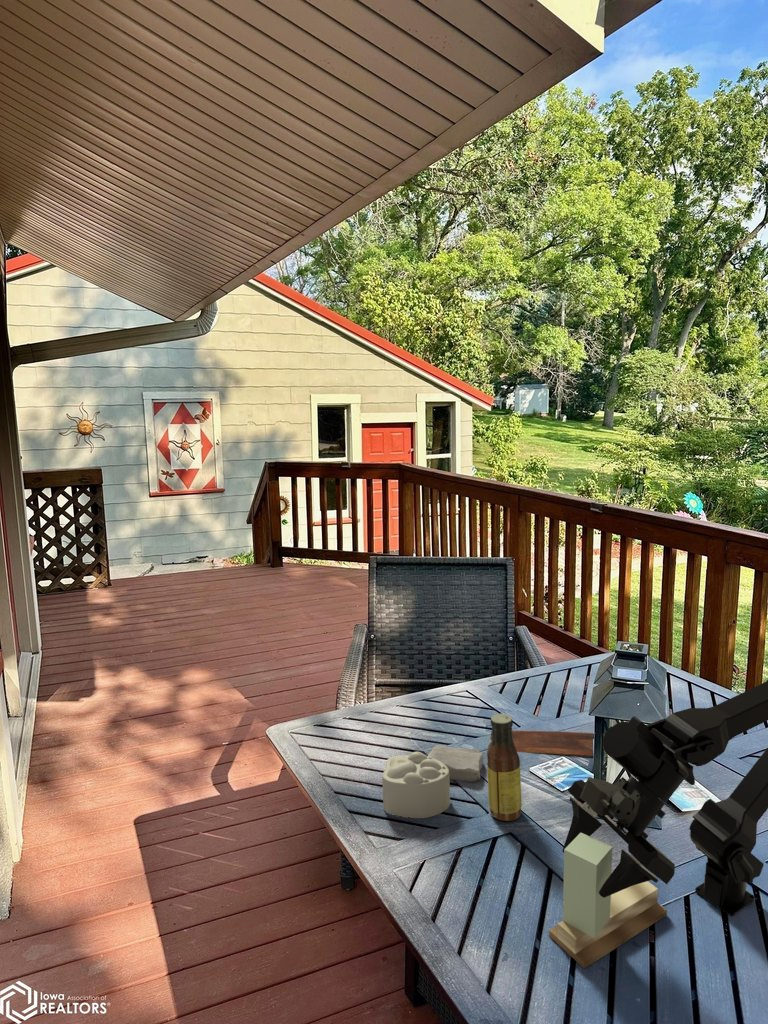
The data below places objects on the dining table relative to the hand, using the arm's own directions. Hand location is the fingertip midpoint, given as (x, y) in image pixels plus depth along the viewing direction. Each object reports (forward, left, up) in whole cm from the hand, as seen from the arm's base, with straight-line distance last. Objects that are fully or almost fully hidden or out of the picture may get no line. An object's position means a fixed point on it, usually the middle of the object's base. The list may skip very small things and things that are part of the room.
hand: (582, 873), depth 101 cm
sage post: (-1, 0, -8) cm, 8 cm away
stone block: (-12, -48, -12) cm, 51 cm away
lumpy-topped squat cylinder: (+1, -42, -12) cm, 44 cm away
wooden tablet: (-36, -44, -12) cm, 58 cm away
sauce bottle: (-11, -30, -12) cm, 34 cm away
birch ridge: (-6, 0, -11) cm, 13 cm away
